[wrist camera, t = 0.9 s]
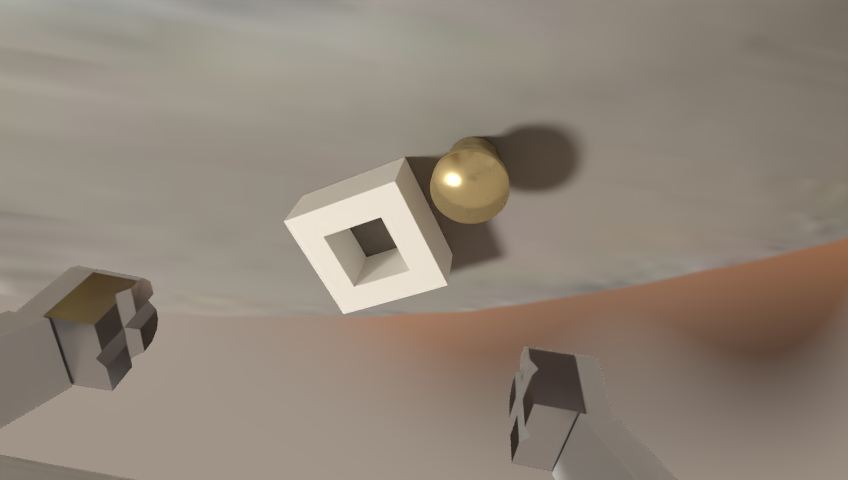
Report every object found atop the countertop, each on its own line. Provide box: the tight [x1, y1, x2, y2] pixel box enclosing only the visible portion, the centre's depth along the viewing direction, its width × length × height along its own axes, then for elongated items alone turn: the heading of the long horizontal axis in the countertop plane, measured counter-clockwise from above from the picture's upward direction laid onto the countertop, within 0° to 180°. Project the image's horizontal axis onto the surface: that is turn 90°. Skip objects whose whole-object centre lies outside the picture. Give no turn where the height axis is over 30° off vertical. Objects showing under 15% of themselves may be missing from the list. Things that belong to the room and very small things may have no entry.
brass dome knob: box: [430, 137, 509, 224], centre depth 42 cm, size 6×6×6 cm
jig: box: [284, 157, 453, 314], centre depth 47 cm, size 11×11×5 cm
